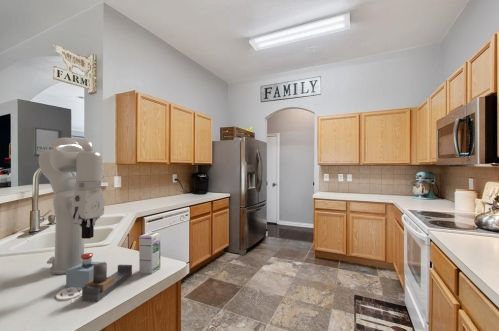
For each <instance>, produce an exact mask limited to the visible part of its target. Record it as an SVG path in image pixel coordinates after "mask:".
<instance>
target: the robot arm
mask: <svg viewBox="0 0 499 331" xmlns="http://www.w3.org/2000/svg"><path fill="white" fill-rule="evenodd" d="M51 146H52V149H47V150H44V151H42V152H41V153H39V156H38V165H39V169H40V171H41V172H42V175H43V176H45V178H46V179H47V180H48V182H49V184H50V187H51V189H52V192H53V194H54V197H53V199H52V201H53V203H52V206H53V210H54V216H55V217H54V218H55V233H54V234H55V236H54V238H55V240H54V256H51V257H49V259H48V260H47V261H46V263H47V264H49V265H50V264H51V267H49V269H48V270H49V271H48V272H49V274H51V275H64V274H65V275H66V271H67V270H69V269H71V268H73V267H75V266H77V265H79V264H81V263H82V258H81V255H83V254H85V239H87V240H88V239H89V240H90V239H91V238H94V232H95V231H94V229H95V228H94V227H95V225H96V222H97V221H98V220H99V219H100V218H101V217H102V216H103V215H104V214H105V203H106V199H105V195H104V192H103V189H102V160H103V159H102V154H101V153H100V152H97V151H94V147H93V143H92V142H91V141H90V140H89V139H85V138H75V137H59V138H56V139H55V140H54V141H53V142H52V145H51ZM72 173H75V176H73V174H72Z"/></svg>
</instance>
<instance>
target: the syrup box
mask: <svg viewBox="0 0 499 331" xmlns="http://www.w3.org/2000/svg"><path fill="white" fill-rule="evenodd" d="M138 240H139V241H138V242H139V244H138V246H139V247H138V248H139V251H138V252H139V254H138V255H139V262H138V263H139V273H141V274H150V275H151V274H153V273H155V272H156V271H157V270H159V269H161V233H160V232H155V231H153V232H151V231H149V232H146V233H144V234H142V235H140V236H139V239H138Z"/></svg>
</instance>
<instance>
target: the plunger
mask: <svg viewBox="0 0 499 331" xmlns="http://www.w3.org/2000/svg"><path fill="white" fill-rule="evenodd" d="M93 256H94V253H93V252H86V253H84V254H83V255H81V258H82V267H88V266H91V265H92V262H93V261H92V260H93Z"/></svg>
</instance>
